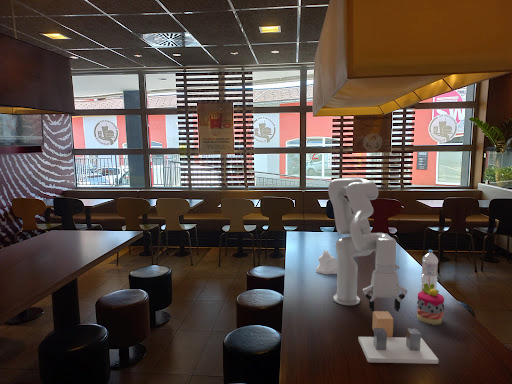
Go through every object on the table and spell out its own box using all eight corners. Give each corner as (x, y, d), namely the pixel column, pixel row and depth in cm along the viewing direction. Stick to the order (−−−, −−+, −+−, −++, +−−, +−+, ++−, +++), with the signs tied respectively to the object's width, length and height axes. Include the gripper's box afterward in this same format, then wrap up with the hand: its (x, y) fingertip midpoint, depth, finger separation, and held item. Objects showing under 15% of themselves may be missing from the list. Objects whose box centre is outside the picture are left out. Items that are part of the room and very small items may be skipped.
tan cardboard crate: (372, 328, 145) (372, 311, 144) (387, 328, 145) (388, 311, 144) (376, 336, 139) (377, 318, 138) (392, 336, 139) (393, 318, 138)
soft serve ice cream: (332, 279, 202) (327, 257, 199) (312, 275, 214) (307, 254, 211) (344, 269, 210) (340, 248, 207) (324, 265, 222) (320, 245, 218)
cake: (448, 323, 149) (451, 289, 147) (428, 326, 146) (430, 292, 144) (430, 312, 159) (432, 280, 157) (410, 315, 156) (412, 283, 154)
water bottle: (423, 295, 177) (426, 247, 174) (437, 299, 172) (440, 250, 169) (417, 299, 172) (420, 250, 169) (432, 304, 167) (435, 253, 164)
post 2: (405, 348, 130) (406, 328, 129) (415, 348, 130) (416, 328, 129) (409, 354, 127) (410, 333, 126) (419, 354, 127) (420, 333, 126)
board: (358, 340, 136) (358, 336, 136) (421, 341, 135) (421, 337, 135) (368, 362, 122) (368, 358, 122) (438, 363, 121) (438, 359, 121)
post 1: (373, 348, 131) (373, 327, 130) (382, 348, 131) (383, 328, 130) (375, 353, 127) (376, 333, 126) (386, 353, 127) (386, 333, 126)
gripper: (404, 265, 141) (402, 306, 143) (360, 265, 142) (360, 306, 144) (411, 271, 134) (410, 314, 136) (365, 271, 135) (364, 314, 136)
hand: (384, 310), depth 140 cm, fingers open, 9 cm apart
